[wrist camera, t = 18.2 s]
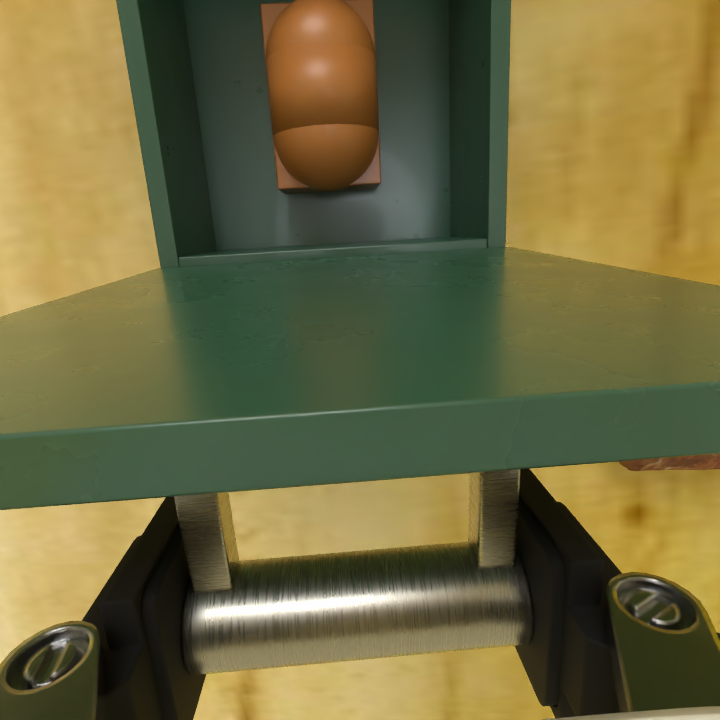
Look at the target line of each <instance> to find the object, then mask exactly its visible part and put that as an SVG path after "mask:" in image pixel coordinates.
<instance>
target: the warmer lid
mask: <svg viewBox="0 0 720 720" xmlns="http://www.w3.org/2000/svg"><path fill="white" fill-rule="evenodd" d="M719 453H720V286H717V285H712V284H707V283H701V282H696V281H690V280H685V279H679V278H674V277H669V276H663V275H658V274H652V273H647V272H642V271H636V270H631V269H625V268H620V267H615V266H609V265H604V264H598V263H593V262H588V261H582V260H577V259H571V258H566V257H561V256H555V255H550V254H544V253H539V252H534V251H528V250H523V249H517V248H512V247H500V248H483V249H467V250H451V251H435V252H419V253H403V254H386V255H370V256H354V257H338V258H322V259H306V260H289V261H273V262H257V263H241V264H225V265H209V266H192V267H176V268H160V269H155V270H151V271H148V272H145V273H142V274H138V275H135V276H132V277H129V278H125V279H122V280H119V281H116V282H112V283H109V284H106V285H103V286H99V287H96V288H93V289H90V290H86V291H83V292H80V293H77V294H73V295H70V296H67V297H64V298H60V299H57V300H54V301H51V302H47V303H44V304H41V305H38V306H34V307H31V308H28V309H25V310H21V311H18V312H15V313H12V314H9V315H5V316H2V317H0V510H7V509H20V508H33V507H45V506H58V505H71V504H84V503H96V502H109V501H122V500H134V499H147V498H160V497H172V496H174V500H175V505H176V510H177V515H178V520H179V525H180V530H181V535H182V540H183V545H184V550H185V555H186V560H187V565H188V570H189V575H190V579H189V582H188V585H187V589H186V593H185V597H184V603H183V609H182V619H181V648H182V656H183V661H184V665H185V667H186V669H187V671H188V672H189V673H190V674H192V675H201V674H212V673H223V672H234V671H244V670H255V669H266V668H277V667H288V666H299V665H310V664H321V663H331V662H342V661H353V660H364V659H375V658H386V657H397V656H408V655H418V654H429V653H440V652H451V651H462V650H473V649H484V648H495V647H505V646H516V645H526V644H528V643H529V642H530V641H531V640H532V637H533V632H534V610H533V601H532V595H531V590H530V586H529V581H528V578H527V574H526V571H525V568H524V565H523V562H522V560H521V558H520V555H519V553H518V551H517V550H516V543H517V524H518V504H519V484H520V469H528V468H541V467H554V466H566V465H579V464H592V463H605V462H617V461H630V460H643V459H655V458H668V457H681V456H693V455H706V454H719ZM465 473H469V536H468V542H460V543H448V544H436V545H424V546H412V547H400V548H388V549H376V550H364V551H353V552H341V553H329V554H317V555H305V556H293V557H281V558H269V559H257V560H245V561H239V557H238V550H237V544H236V538H235V532H234V525H233V519H232V513H231V507H230V500H229V494H228V492H236V491H249V490H261V489H274V488H287V487H300V486H312V485H325V484H338V483H350V482H363V481H376V480H388V479H401V478H414V477H427V476H439V475H452V474H465Z"/></svg>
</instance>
